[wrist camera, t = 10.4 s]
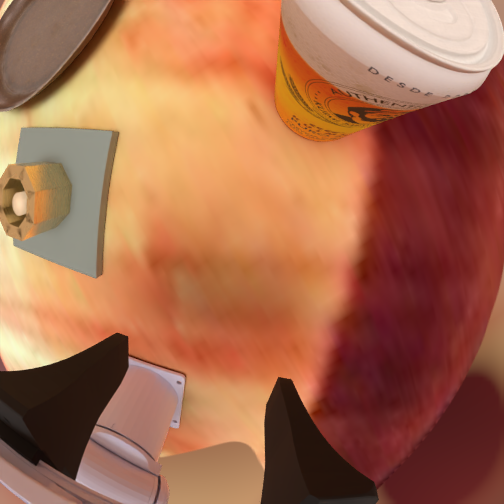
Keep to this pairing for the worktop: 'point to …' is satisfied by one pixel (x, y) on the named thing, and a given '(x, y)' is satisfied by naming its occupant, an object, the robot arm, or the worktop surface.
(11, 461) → the robot arm
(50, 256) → the post plate
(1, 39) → the plant saucer
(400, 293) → the worktop surface
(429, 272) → the worktop surface
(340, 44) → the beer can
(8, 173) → the collar
